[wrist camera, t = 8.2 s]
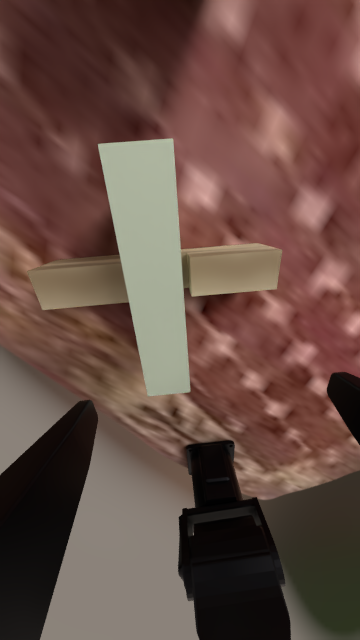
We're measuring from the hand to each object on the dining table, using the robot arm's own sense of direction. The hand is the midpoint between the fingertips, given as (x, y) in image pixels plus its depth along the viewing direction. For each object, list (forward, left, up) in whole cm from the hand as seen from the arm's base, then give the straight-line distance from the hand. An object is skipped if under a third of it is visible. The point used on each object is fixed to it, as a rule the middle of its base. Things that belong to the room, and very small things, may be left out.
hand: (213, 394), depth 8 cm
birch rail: (+2, +2, -12) cm, 12 cm away
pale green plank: (+2, +2, -12) cm, 12 cm away
